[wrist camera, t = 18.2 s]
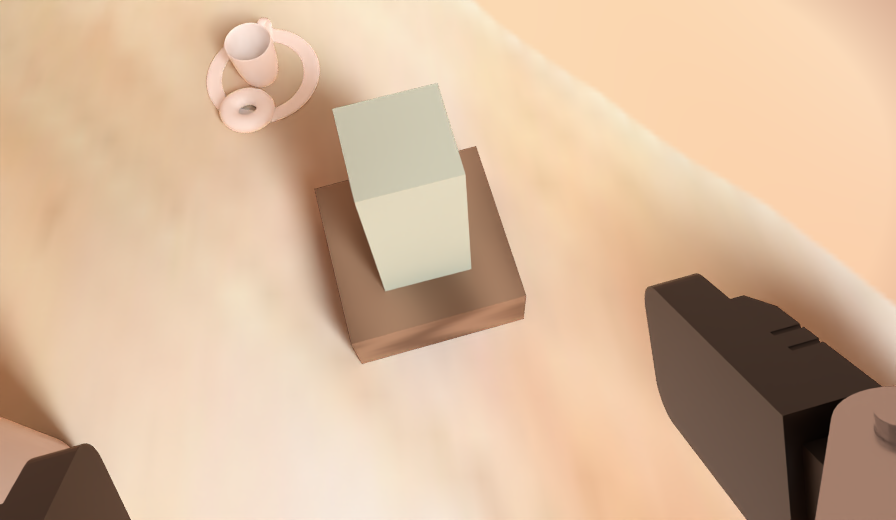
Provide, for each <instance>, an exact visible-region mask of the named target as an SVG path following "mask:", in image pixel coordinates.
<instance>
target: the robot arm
mask: <svg viewBox="0 0 896 520" xmlns="http://www.w3.org/2000/svg"><path fill="white" fill-rule="evenodd" d="M645 307H646V314H647V321H648V328H649V334H650V341H651V348H652V354H653V361H654V368H655V375H656V381H657V386H658V390H659V393H660V396H661V399H662V402H663V405H664V407H665V409H666V412H667V413H668V415H669V417H670V419H671V421H672V422H673V424H674V425H675V426H676V428H677V429H678V430H679V431H680V433H681V434H682V435H683V437H684V438H685V439H686V441H687V442H688V443H689V445H690V446H691V447H692V449H693V450H694V451H695V452H696V454H697V455H698V456H699V458H700V459H701V460H702V462H703V463H704V464H705V466H706V467H707V468H708V470H709V471H710V472H711V473H712V475H713V476H714V477H715V479H716V480H717V481H718V483H719V484H720V485H721V487H722V488H723V489H724V490H725V492H726V493H727V494H728V496H729V497H730V498H731V500H732V501H733V502H734V504H735V505H736V506H737V508H738V509H739V510H740V511H741V513H742V514H743V515H744V517H745V518H746V519H747V520H896V386H889V387H882V386H881V385H879V384H878V383H877V382H875V381H874V380H873V379H872V378H870V377H869V376H868V375H866V374H865V373H864V372H862V371H861V370H860V369H858V368H857V367H856V366H854V365H853V364H852V363H851V362H849V361H848V360H847V359H845V358H844V357H843V356H841V355H840V354H839V353H837V352H836V351H835V350H834V349H832V348H831V347H830V346H828V345H827V344H826V343H824V342H821V343H820V341H819V338H818V337H816V336H815V335H814V334H813V333H811V332H810V331H809V330H807V329H806V328H805V327H803V328H801V327H800V324H799V323H798V322H797V321H795V320H794V319H793V318H792V317H790V316H789V315H788V314H786V313H785V312H784V311H782V310H781V309H780V308H778V307H777V306H774V305H771V304H768V303H765V302H762V301H759V300H756V299H753V298H750V297H747V296H744V295H743V296H740V297H736V298H733V299H729V298H728V297H727V296H726V295H725V294H723V293H722V292H721V291H720V290H719V289H717V288H716V287H715V286H714V285H713V284H711V283H710V282H709V281H708V280H706V279H705V278H704V277H703V276H701V275H700V274H693V275H689V276H685V277H682V278H678V279H675V280H671V281H668V282H664V283H660V284H657V285H653V286H650V287H648V288H647V289H646V291H645ZM0 520H131V519H130V517H129V515H128V513H127V511H126V509H125V507H124V505H123V502H122V500H121V498H120V496H119V494H118V492H117V490H116V488H115V486H114V484H113V482H112V480H111V477H110V475H109V473H108V471H107V469H106V467H105V465H104V463H103V461H102V459H101V457H100V455H99V453H98V452H97V450H96V449H95V448H94V447H93V446H91V445H90V444H81V445H77V446H74V447H69V446H68V445H67V444H65V443H64V442H62V441H61V440H59V439H57V438H54V437H52V436H49V435H47V434H44V433H41V432H39V431H36V430H34V429H31V428H28V427H26V426H23V425H20V424H18V423H16V422H13V421H11V420H8V419H5V418H2V417H0Z"/></svg>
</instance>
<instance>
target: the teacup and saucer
mask: <svg viewBox="0 0 896 520" xmlns="http://www.w3.org/2000/svg"><path fill="white" fill-rule="evenodd" d="M273 42H277V43H281V44H284V45H286V46H288V47H290V48H291V49H293V50H294V51H295V52H296V53H297V54H298V55H299V57H300V59H301V61H302V63H303V67H304V77H303V81H302V84H301V86H300V88H299V89H298V91H297V92H296V93H295V95H294V96H293V97H292V98H291V99H289V100H288V101H287V102H285V103H284V104H282V105H280V106H278V107H275V105H274V101H273V99H272V97H271V96H270V95H269V94H268V93H266V92H265V91H263V90H261V89H258V88H263V87H267V86H269V85H271V84H272V83H273V82H274V81H275V79H276V77H277V74H278V60H277V55H276V51H275V47H274V44H273ZM229 60H231V62H232V63H233V65H234V67H235V68H236V70H237V72H238V73H239V74H240V76H241V77H242V78H243V79H244V80H245V81H246V82H247V83H248V84H250V85H251V86H254V87H257V88H251V87H247V88H241V89H238V90H236V91H234V92H232V93H230V94H229V95H228V96H226V94H225V93H224V90H223V87H222V74H223V70H224V68H225V66H226V64H227V62H228V61H229ZM319 75H320V66H319V61H318V57H317V55H316V53H315V51H314V49H313V48H312V47H311V45H310V44H309V43H308V42H307V41H306V40H304V39H303V38H302V37H300V36H298V35H296V34H294V33H292V32H289V31H286V30H281V29H272V24H271V21H270V20H269V19H268V18H264V17H262V18H260V19H259V20H258V22H257V23H244V24H240V25H238V26H236V27H235V28H233V29H232V30H231V31H230V32H229V33H228V34H227V36H226V38H225V41H224V47H223V48H222V49H221V50H220V51H219V52H218V53H217V54H216V56H215V57H214V59H213V60H212V62H211V64H210V67H209V70H208V73H207V91H208V94H209V97H210V99H211V101H212V103H213V104H214V106H215V107H216V108H217V109H218V110H219V111H220V118H221V120H222V122H223V123H224V124H225V125H226V126H227V127H228V128H229V129H231V130H233V131H235V132H239V133H251V132H255V131H258V130H260V129H262V128H264V127H265V126H266V125H267V124H268V123H270V122H274V121H278V120H281V119H283V118H285V117H287V116H289V115H291V114H293V113H294V112H296V111H297V110H299V109H300V108H301V107H302V106H303V105H304V104H305V103H306V102H307V101H308V100H309V99H310V97H311V96H312V94H313V93H314V91H315V89H316V87H317V84H318V80H319ZM248 105H254V106H255V107H256V110H255V111H253V110H247V109H244V108H242V107H244V106H248Z"/></svg>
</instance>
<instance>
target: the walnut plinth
mask: <svg viewBox="0 0 896 520" xmlns="http://www.w3.org/2000/svg"><path fill="white" fill-rule="evenodd" d="M458 152H459V155H460V158H461V161H462V165H463V168H464V171H465V175H466V191H467V207H468V223H469V239H470V255H471V269H470V270H466V271H462V272H458V273H454V274H450V275H446V276H443V277H439V278H435V279H431V280H427V281H423V282H419V283H416V284H412V285H408V286H404V287H400V288H396V289H392V290H389V291H385V289H384V286H383V283H382V280H381V277H380V274H379V272H378V269H377V266H376V263H375V260H374V257H373V254H372V251H371V249H370V246H369V243H368V240H367V237H366V234H365V231H364V228H363V226H362V223H361V220H360V217H359V214H358V211H357V208H356V205H355V202H354V198H353V194H352V190H351V186H350V182H349V180H347V181H343V182H339V183H335V184H332V185H328V186H324V187H320V188H317V189H315V193H316V197H317V202H318V206H319V210H320V214H321V219H322V223H323V227H324V231H325V235H326V240H327V244H328V248H329V252H330V257H331V261H332V265H333V269H334V273H335V278H336V282H337V286H338V290H339V295H340V299H341V303H342V307H343V311H344V316H345V320H346V324H347V328H348V333H349V337H350V341H351V345H352V347H353V348H354V350H355V352H356V354H357V356H358V357H359V359H360V361H361V363H362V364H364V363H367V362H371V361H374V360H378V359H381V358H385V357H389V356H392V355H396V354H399V353H403V352H406V351H410V350H414V349H417V348H421V347H424V346H428V345H431V344H435V343H439V342H442V341H446V340H449V339H453V338H457V337H460V336H464V335H467V334H471V333H474V332H478V331H482V330H485V329H489V328H492V327H496V326H499V325H503V324H507V323H510V322H514V321H517V320H521V319H524V311H525V302H526V294H525V291H524V288H523V285H522V282H521V279H520V276H519V273H518V270H517V267H516V264H515V261H514V258H513V255H512V252H511V249H510V246H509V243H508V240H507V237H506V234H505V231H504V228H503V225H502V222H501V219H500V216H499V213H498V210H497V207H496V204H495V201H494V198H493V195H492V192H491V189H490V187H489V184H488V181H487V178H486V175H485V172H484V169H483V166H482V163H481V160H480V157H479V154H478V151H477V148H476V146H475V147H471V148H467V149H463V150H460V151H458Z"/></svg>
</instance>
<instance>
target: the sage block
mask: <svg viewBox="0 0 896 520" xmlns="http://www.w3.org/2000/svg"><path fill="white" fill-rule="evenodd" d="M332 110H333V115H334V119H335V123H336V127H337V131H338V135H339V140H340V144H341V148H342V152H343V156H344V161H345V165H346V169H347V173H348V177H349V182H350V186H351V190H352V194H353V198H354V202H355V205H356V208H357V211H358V214H359V217H360V220H361V223H362V226H363V228H364V231H365V234H366V237H367V240H368V243H369V246H370V249H371V251H372V254H373V257H374V260H375V263H376V266H377V269H378V272H379V274H380V277H381V280H382V283H383V286H384V289H385V291H389V290H392V289H396V288H400V287H404V286H408V285H412V284H416V283H419V282H423V281H427V280H431V279H435V278H439V277H443V276H446V275H450V274H454V273H458V272H462V271H466V270H470V269H471V255H470V239H469V223H468V207H467V191H466V175H465V171H464V168H463V165H462V161H461V158H460V155H459V152H458V148H457V145H456V142H455V138H454V135H453V132H452V129H451V125H450V122H449V119H448V116H447V112H446V109H445V106H444V103H443V99H442V96H441V93H440V89H439V86H438V83H435V84H431V85H427V86H423V87H419V88H415V89H411V90H407V91H403V92H399V93H395V94H391V95H386V96H382V97H378V98H374V99H370V100H366V101H362V102H358V103H354V104H350V105H346V106H342V107H338V108H334V109H332Z"/></svg>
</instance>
